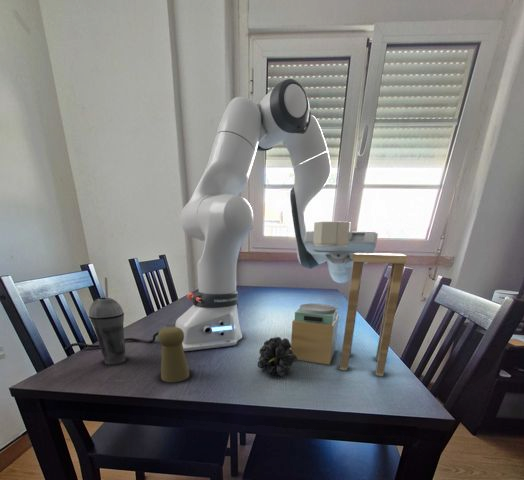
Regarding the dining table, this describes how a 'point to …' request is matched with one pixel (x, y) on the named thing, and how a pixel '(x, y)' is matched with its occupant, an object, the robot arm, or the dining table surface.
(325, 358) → the scale
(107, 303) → the beverage cup
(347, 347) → the stand
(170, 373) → the olive game pawn
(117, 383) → the dining table surface
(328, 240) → the cream faceted block
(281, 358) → the fruit
